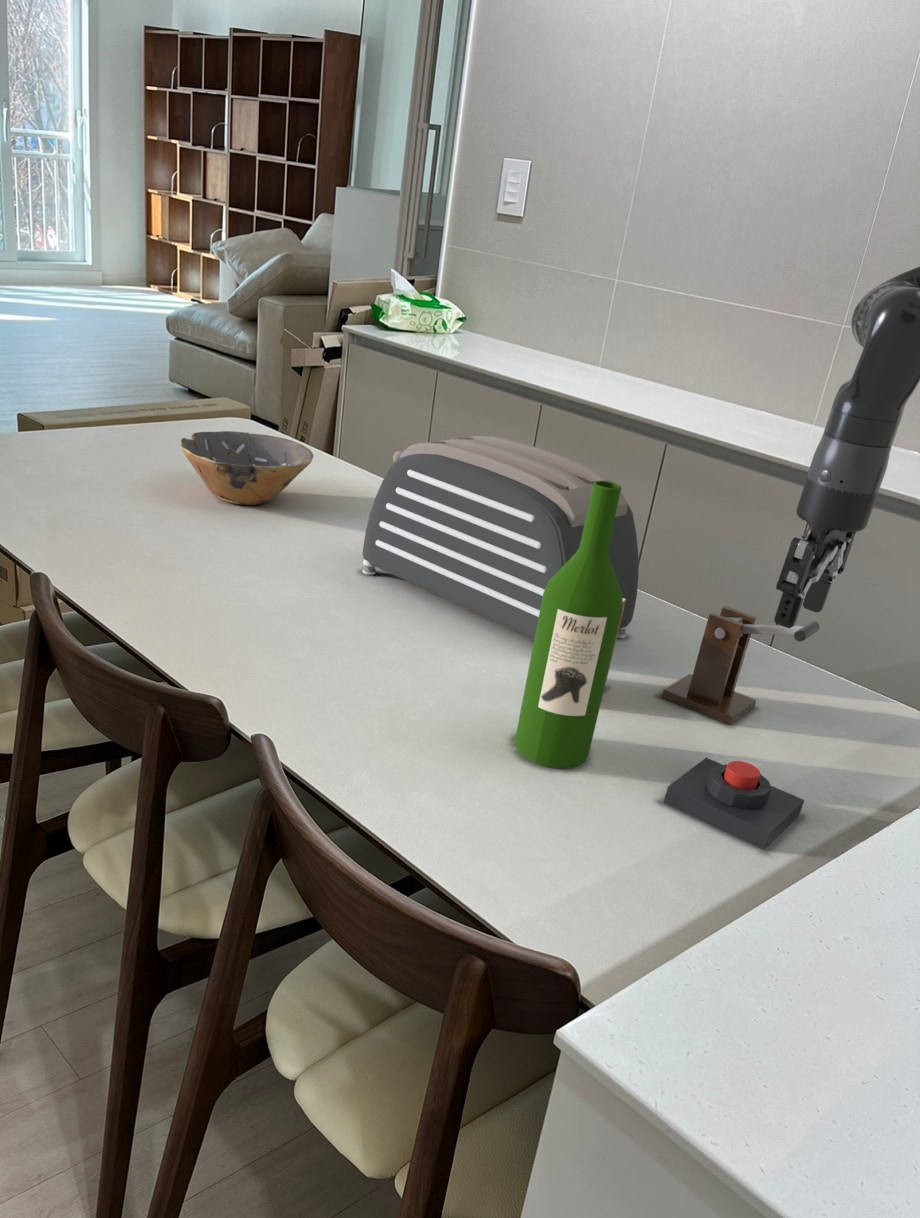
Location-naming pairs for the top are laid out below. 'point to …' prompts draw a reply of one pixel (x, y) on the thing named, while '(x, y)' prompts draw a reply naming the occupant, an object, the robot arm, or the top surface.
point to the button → (742, 775)
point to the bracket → (717, 670)
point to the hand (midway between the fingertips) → (797, 617)
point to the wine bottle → (573, 645)
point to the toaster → (490, 526)
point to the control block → (734, 804)
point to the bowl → (245, 464)
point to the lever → (780, 629)
